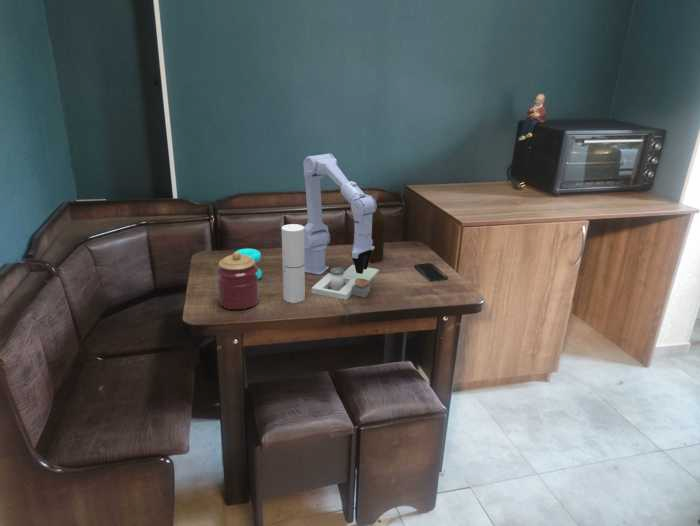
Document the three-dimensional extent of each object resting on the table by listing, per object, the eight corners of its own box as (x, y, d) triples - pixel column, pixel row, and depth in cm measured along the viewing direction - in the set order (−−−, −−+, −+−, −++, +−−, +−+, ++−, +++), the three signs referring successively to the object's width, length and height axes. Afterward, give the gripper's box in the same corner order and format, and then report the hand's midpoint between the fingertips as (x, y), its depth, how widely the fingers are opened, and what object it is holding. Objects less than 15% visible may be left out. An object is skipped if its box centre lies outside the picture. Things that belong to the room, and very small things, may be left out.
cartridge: (327, 290, 184) (328, 271, 182) (333, 285, 189) (333, 266, 186) (340, 292, 183) (340, 273, 180) (345, 287, 187) (346, 268, 184)
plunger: (352, 294, 181) (352, 282, 180) (357, 289, 185) (357, 277, 184) (364, 296, 180) (365, 284, 178) (369, 291, 184) (369, 279, 182)
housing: (311, 293, 182) (311, 285, 181) (328, 278, 194) (328, 270, 193) (360, 303, 176) (360, 294, 175) (374, 286, 188) (374, 279, 187)
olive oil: (389, 258, 214) (392, 198, 204) (373, 265, 206) (376, 203, 196) (368, 251, 220) (370, 193, 210) (352, 259, 212) (353, 198, 203)
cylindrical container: (296, 305, 173) (295, 232, 164) (279, 299, 177) (276, 228, 167) (309, 297, 179) (308, 226, 170) (292, 291, 182) (290, 222, 173)
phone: (431, 262, 208) (448, 277, 195) (431, 265, 209) (448, 280, 195) (412, 264, 206) (429, 280, 193) (412, 267, 206) (429, 282, 193)
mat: (340, 277, 195) (340, 275, 194) (352, 267, 204) (352, 264, 204) (369, 282, 191) (369, 280, 191) (379, 271, 200) (379, 269, 200)
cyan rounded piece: (236, 259, 183) (229, 249, 191) (238, 285, 186) (230, 275, 195) (264, 255, 187) (256, 245, 195) (265, 280, 191) (257, 270, 199)
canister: (261, 308, 170) (259, 257, 164) (220, 313, 167) (216, 261, 160) (256, 291, 182) (254, 243, 175) (218, 295, 178) (214, 246, 172)
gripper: (366, 241, 167) (365, 281, 172) (381, 228, 179) (379, 265, 184) (345, 238, 169) (345, 277, 174) (362, 225, 182) (360, 262, 187)
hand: (361, 271), depth 179 cm, fingers open, 3 cm apart
